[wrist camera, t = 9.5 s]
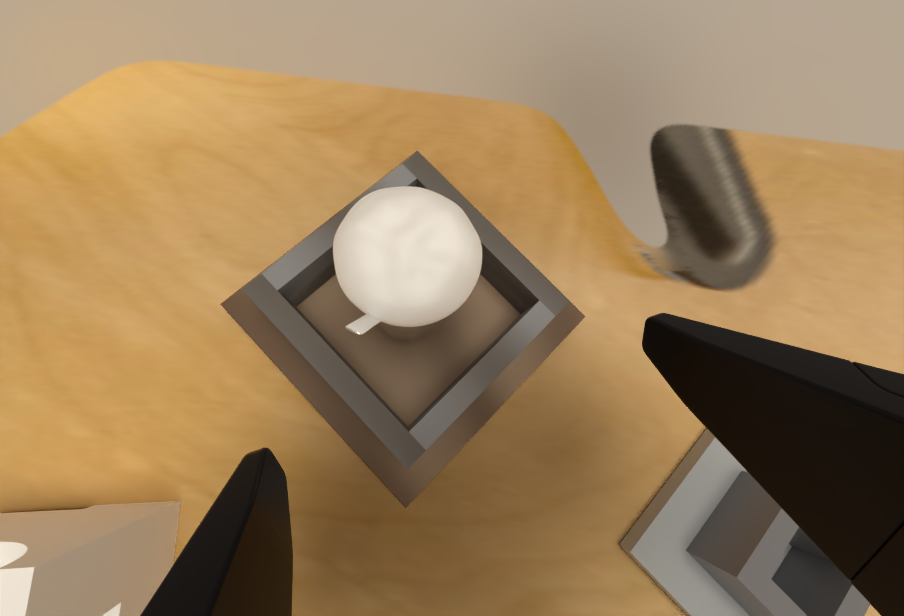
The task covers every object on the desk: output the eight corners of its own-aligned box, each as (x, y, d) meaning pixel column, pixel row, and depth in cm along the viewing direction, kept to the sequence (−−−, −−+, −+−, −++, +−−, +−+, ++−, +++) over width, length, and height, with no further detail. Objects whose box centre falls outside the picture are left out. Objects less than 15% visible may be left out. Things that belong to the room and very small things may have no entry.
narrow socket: (756, 688, 19) (847, 763, 15) (619, 544, 20) (671, 580, 16) (845, 537, 21) (945, 568, 17) (718, 412, 22) (786, 415, 18)
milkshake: (336, 344, 19) (267, 289, 10) (388, 253, 21) (373, 122, 11) (420, 385, 19) (435, 373, 10) (466, 291, 21) (520, 196, 11)
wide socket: (405, 502, 19) (405, 528, 15) (229, 308, 20) (187, 287, 16) (577, 320, 22) (614, 303, 18) (416, 161, 23) (419, 112, 19)
